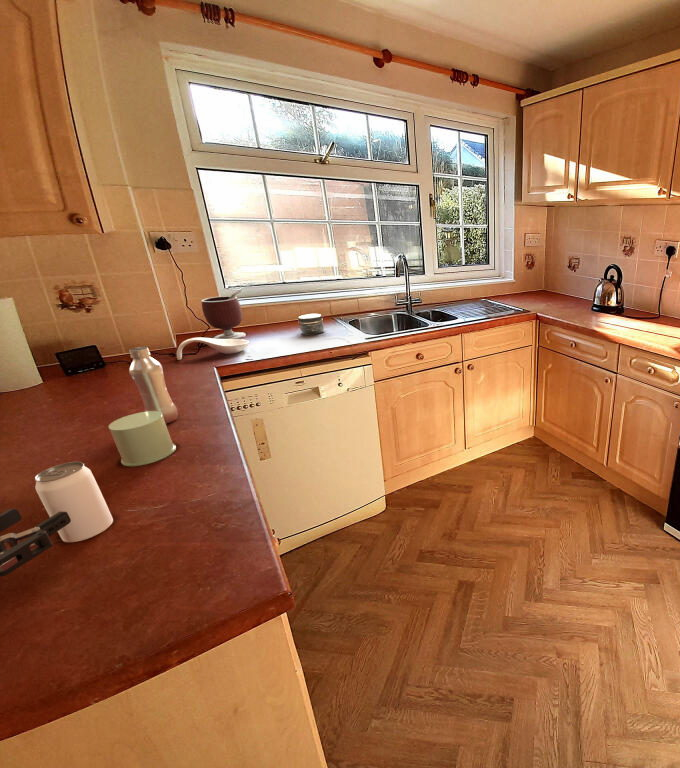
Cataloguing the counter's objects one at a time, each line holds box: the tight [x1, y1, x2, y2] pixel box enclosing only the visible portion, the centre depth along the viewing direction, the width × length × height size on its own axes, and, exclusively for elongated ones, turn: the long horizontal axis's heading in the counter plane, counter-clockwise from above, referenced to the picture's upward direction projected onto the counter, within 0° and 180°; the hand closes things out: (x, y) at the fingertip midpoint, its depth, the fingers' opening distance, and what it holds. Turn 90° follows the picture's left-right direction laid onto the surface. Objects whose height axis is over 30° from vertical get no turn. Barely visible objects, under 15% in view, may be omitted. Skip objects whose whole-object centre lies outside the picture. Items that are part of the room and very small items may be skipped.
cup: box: [108, 411, 177, 467], centre depth 93 cm, size 10×10×9 cm
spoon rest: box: [176, 337, 250, 361], centre depth 163 cm, size 24×12×7 cm, turn 123°
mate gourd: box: [201, 290, 247, 339], centre depth 184 cm, size 16×14×20 cm
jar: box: [297, 313, 325, 336], centre depth 192 cm, size 10×10×8 cm
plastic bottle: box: [128, 346, 179, 425], centre depth 106 cm, size 6×7×20 cm
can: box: [34, 461, 114, 543], centre depth 70 cm, size 6×6×12 cm
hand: (41, 514), depth 65 cm, fingers open, 8 cm apart
